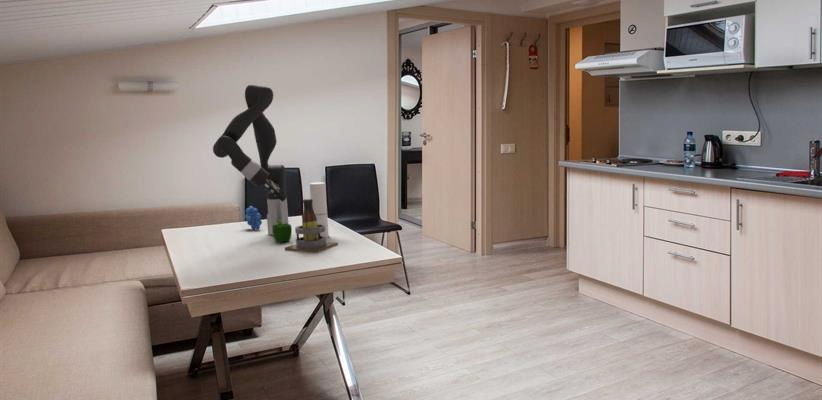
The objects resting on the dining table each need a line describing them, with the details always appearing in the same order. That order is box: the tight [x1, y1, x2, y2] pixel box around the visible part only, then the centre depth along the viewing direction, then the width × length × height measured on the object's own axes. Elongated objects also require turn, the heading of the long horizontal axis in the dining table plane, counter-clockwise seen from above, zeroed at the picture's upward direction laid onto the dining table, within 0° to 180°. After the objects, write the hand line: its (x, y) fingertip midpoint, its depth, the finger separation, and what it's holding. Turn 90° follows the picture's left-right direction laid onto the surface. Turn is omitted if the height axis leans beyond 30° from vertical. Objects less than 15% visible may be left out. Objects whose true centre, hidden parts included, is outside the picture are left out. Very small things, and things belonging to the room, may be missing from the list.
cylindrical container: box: [309, 181, 330, 238], centre depth 294 cm, size 7×7×25 cm
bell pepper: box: [272, 220, 293, 243], centre depth 287 cm, size 8×8×10 cm
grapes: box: [244, 205, 262, 230], centre depth 320 cm, size 12×7×12 cm, turn 51°
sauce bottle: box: [301, 198, 318, 241], centre depth 270 cm, size 7×6×20 cm
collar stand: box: [284, 224, 339, 254], centre depth 271 cm, size 16×16×9 cm
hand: (284, 198), depth 267 cm, fingers open, 8 cm apart
